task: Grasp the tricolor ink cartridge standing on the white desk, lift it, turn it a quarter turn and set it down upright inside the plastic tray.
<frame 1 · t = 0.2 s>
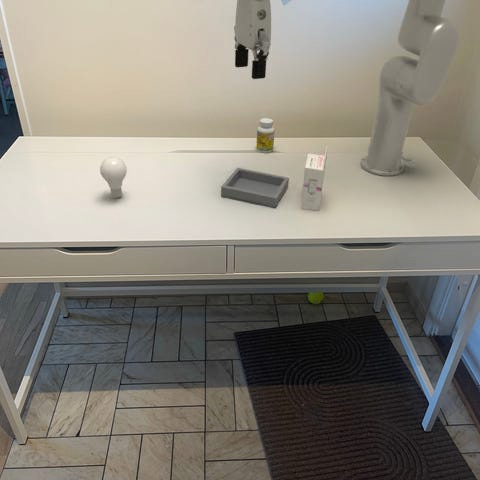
hand: (249, 72, 111), 31 cm above the table, tool pointing down, fingers open, 9 cm apart
ink cartridge box: (310, 202, 124), on the table
supplement bottle: (264, 150, 149), on the table
lightbulb: (117, 197, 122), on the table
tray: (255, 192, 127), on the table
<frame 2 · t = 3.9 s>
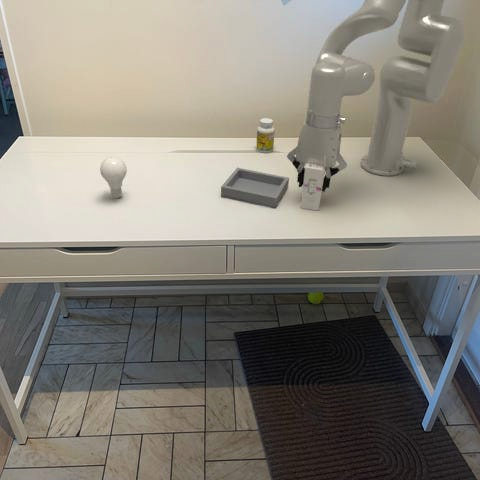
hand: (312, 186, 121), 5 cm above the table, tool pointing down, fingers closed on ink cartridge box, 5 cm apart
ink cartridge box: (310, 202, 124), on the table, touching gripper
everything else where it was.
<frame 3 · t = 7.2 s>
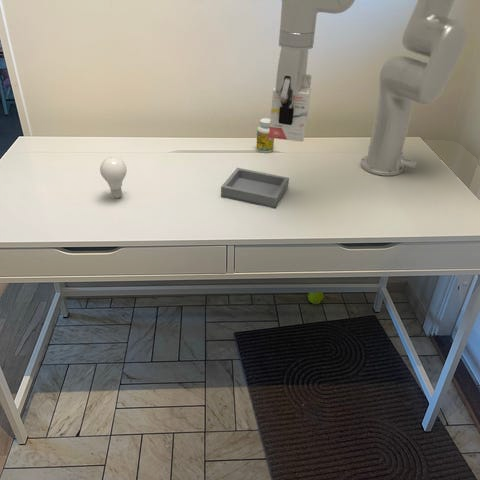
hand: (288, 118, 113), 21 cm above the table, tool pointing down, fingers closed on ink cartridge box, 5 cm apart
ink cartridge box: (287, 137, 116), point 17 cm above the table, touching gripper
everything else where it was.
when the fingers open (7 cm above the table, at t = 10.8 s): ink cartridge box drops 2 cm, resting on tray.
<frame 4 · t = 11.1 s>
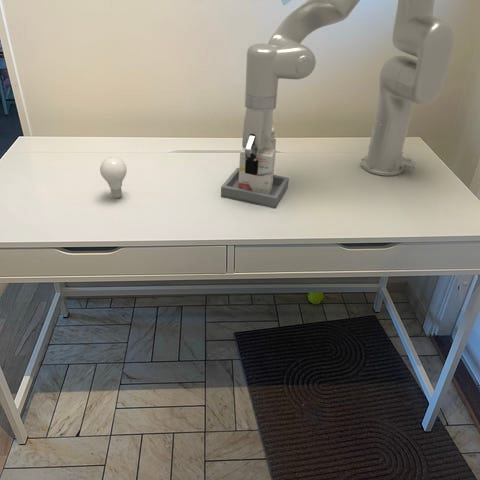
hand: (256, 166, 122), 8 cm above the table, tool pointing down, fingers open, 8 cm apart
ink cartridge box: (255, 191, 126), resting on tray
everything else where it was.
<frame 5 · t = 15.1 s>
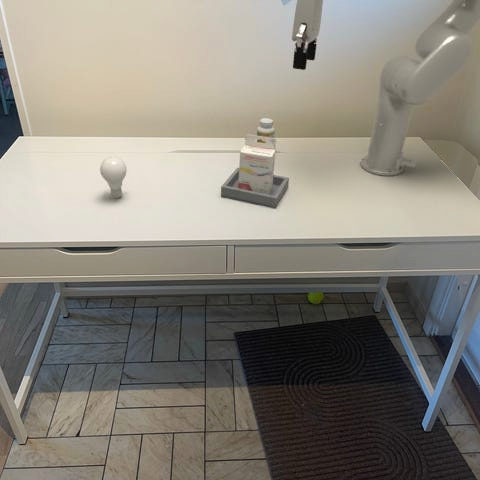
hand: (303, 64, 120), 30 cm above the table, tool pointing down, fingers open, 9 cm apart
nothing on the table moved.
at the end: ink cartridge box 0.3 cm off-centre on the tray, point 0.4 cm above the tray's base; ink cartridge box tilted 0°; the gripper is holding nothing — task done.
